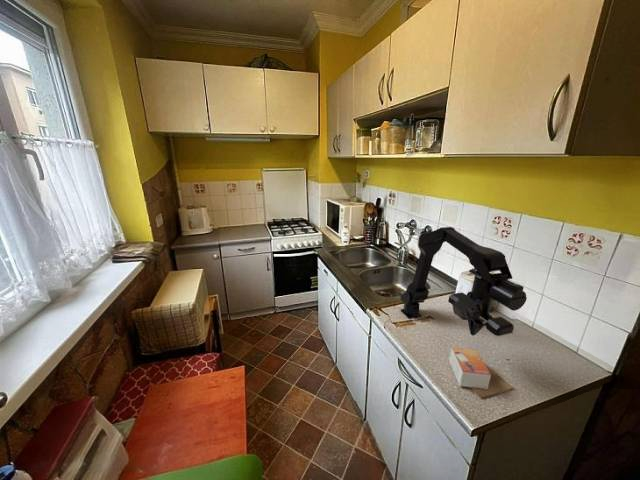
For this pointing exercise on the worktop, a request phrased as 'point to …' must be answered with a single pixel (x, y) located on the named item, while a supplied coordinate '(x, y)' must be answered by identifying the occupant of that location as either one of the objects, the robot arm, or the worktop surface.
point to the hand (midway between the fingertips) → (472, 334)
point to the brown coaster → (493, 385)
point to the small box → (469, 368)
